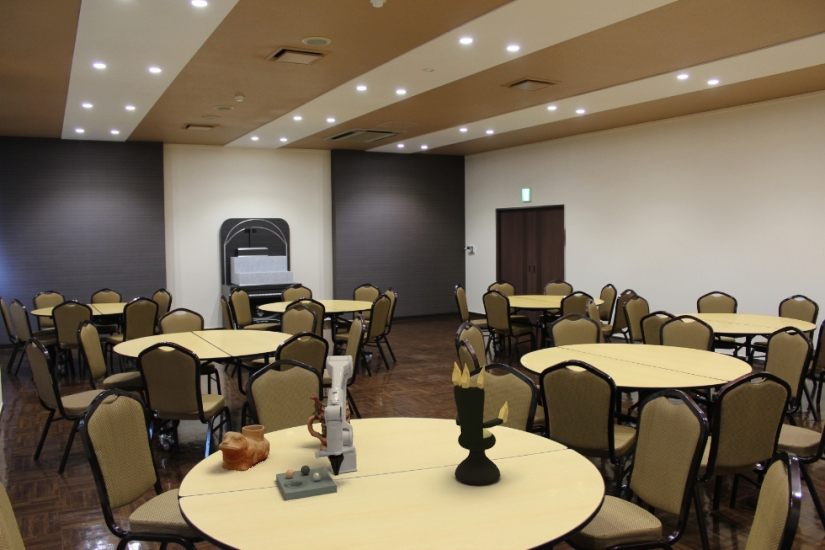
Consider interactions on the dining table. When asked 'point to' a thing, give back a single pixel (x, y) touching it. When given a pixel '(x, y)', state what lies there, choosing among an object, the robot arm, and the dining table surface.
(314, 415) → the beer stein
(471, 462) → the candelabra
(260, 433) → the ceramic vessel
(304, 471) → the black ball
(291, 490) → the plate
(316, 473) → the steel ball
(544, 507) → the dining table surface
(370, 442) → the dining table surface
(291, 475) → the terracotta ball
